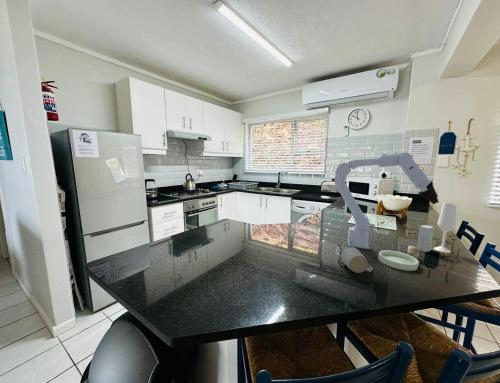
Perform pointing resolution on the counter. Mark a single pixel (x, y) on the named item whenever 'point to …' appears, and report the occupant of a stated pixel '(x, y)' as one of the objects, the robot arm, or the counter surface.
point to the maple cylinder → (413, 251)
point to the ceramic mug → (355, 260)
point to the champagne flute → (446, 223)
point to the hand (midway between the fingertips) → (435, 200)
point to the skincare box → (425, 238)
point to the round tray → (398, 260)
